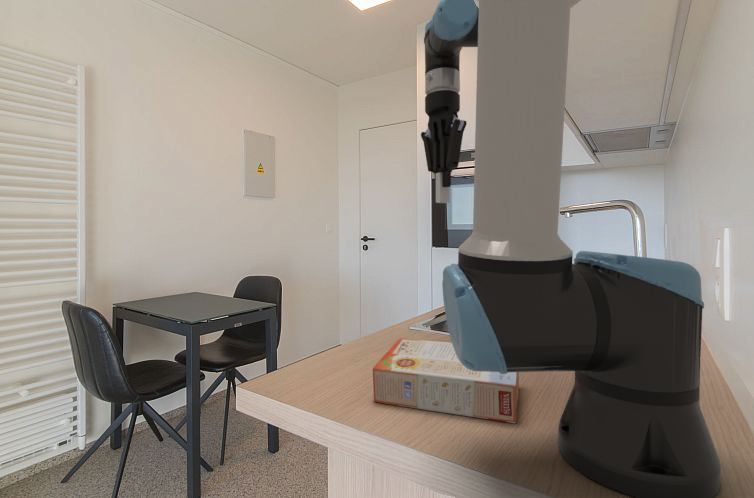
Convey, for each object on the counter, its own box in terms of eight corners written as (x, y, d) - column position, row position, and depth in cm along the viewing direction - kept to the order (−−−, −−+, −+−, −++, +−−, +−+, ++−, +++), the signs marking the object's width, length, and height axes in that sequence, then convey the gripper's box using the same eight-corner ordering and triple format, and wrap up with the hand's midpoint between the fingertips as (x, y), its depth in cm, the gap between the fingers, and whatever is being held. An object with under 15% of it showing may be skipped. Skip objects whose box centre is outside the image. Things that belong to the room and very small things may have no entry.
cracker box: (372, 404, 60) (517, 426, 53) (370, 366, 60) (517, 383, 52) (400, 368, 73) (520, 381, 66) (399, 337, 73) (519, 346, 65)
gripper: (411, 100, 90) (411, 204, 91) (448, 81, 79) (449, 199, 80) (437, 105, 94) (437, 205, 95) (476, 87, 82) (476, 201, 83)
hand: (442, 202), depth 87 cm, fingers closed
